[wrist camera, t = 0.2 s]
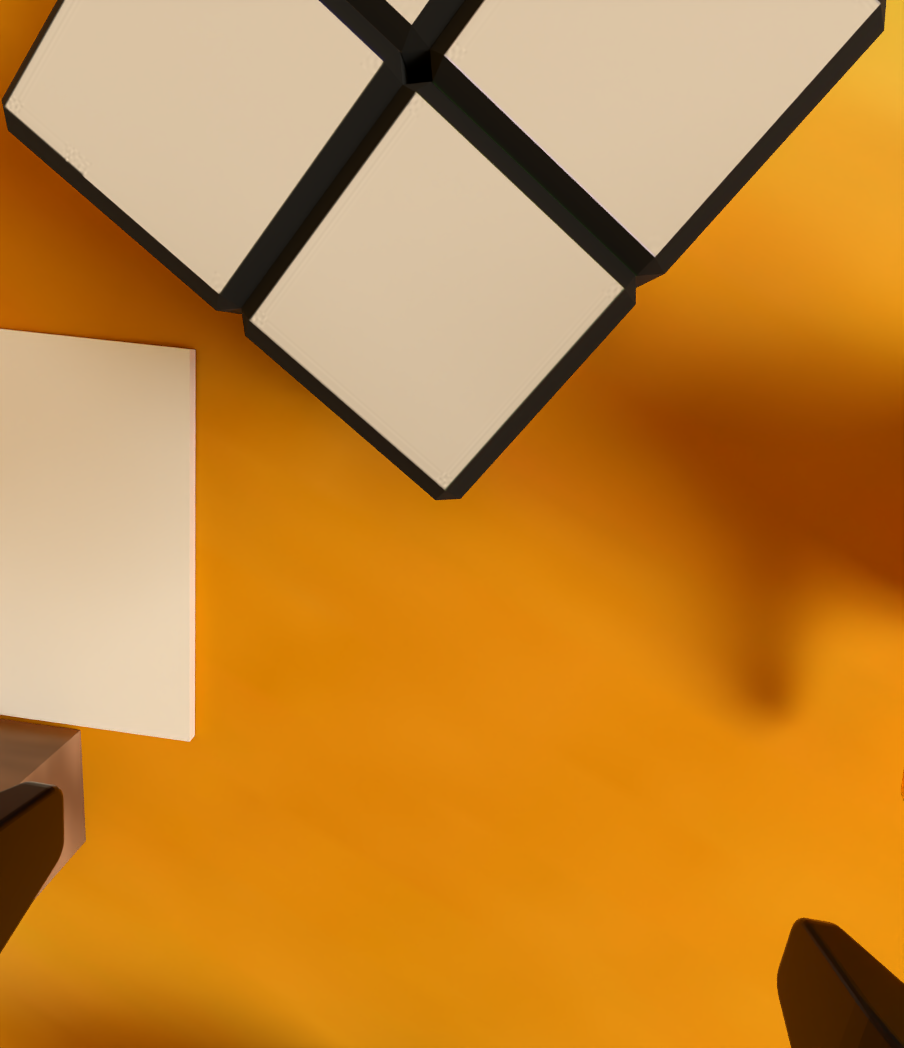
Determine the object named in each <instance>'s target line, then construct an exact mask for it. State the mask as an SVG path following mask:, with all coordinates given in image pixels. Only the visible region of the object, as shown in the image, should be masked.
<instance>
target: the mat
mask: <svg viewBox="0 0 904 1048" xmlns="http://www.w3.org/2000/svg"><path fill="white" fill-rule="evenodd" d="M195 400H196V350H194V349H185V348H176V347H167V346H157V345H148V344H139V343H130V342H120V341H111V340H102V339H92V338H83V337H74V336H65V335H55V334H46V333H37V332H28V331H18V330H9V329H0V715H7V716H14V717H21V718H28V719H35V720H42V721H49V722H56V723H63V724H70V725H77V726H84V727H91V728H98V729H105V730H112V731H119V732H126V733H133V734H140V735H147V736H154V737H161V738H168V739H175V740H182V741H189V742H190V741H191V739H192V738H193V737H194V736H195Z"/></svg>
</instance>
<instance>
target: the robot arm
mask: <svg viewBox="0 0 904 1048" xmlns="http://www.w3.org/2000/svg"><path fill="white" fill-rule="evenodd" d="M63 846H64V797H63V792H62V790H61V789H60V788H59V787H57V786H55V785H50V784H45V783H39V782H33V781H28V782H23V783H20V784H18V785H15V786H13V787H11V788H8V789H6V790H3V791H1V792H0V953H1V951H2V950H3V948H4V947H5V945H6V943H7V942H8V940H9V939H10V937H11V936H12V934H13V932H14V931H15V929H16V928H17V926H18V924H19V923H20V921H21V920H22V918H23V916H24V915H25V913H26V912H27V910H28V909H29V907H30V905H31V904H32V902H33V901H34V899H35V897H36V896H37V894H38V893H39V891H40V889H41V888H42V886H43V885H44V883H45V882H46V880H47V878H48V877H49V875H50V874H51V872H52V870H53V869H54V867H55V866H56V864H57V862H58V860H59V858H60V856H61V853H62V850H63ZM777 989H778V995H779V1000H780V1004H781V1008H782V1012H783V1016H784V1020H785V1024H786V1028H787V1032H788V1036H789V1041H790V1045H791V1048H904V983H903V982H902V981H900V980H899V979H898V978H897V977H896V976H895V975H894V974H892V973H891V972H890V971H889V970H888V969H887V968H886V967H884V966H883V965H882V964H881V963H880V962H879V961H878V960H877V959H875V958H874V957H873V956H872V955H871V954H870V953H869V952H867V951H866V950H865V949H864V948H863V947H862V946H861V945H859V944H858V943H857V942H856V941H855V940H854V939H853V938H852V937H850V936H849V935H848V934H847V933H846V932H845V931H844V930H842V929H841V928H840V927H839V926H837V925H835V924H833V923H830V922H826V921H820V920H814V919H809V918H800V919H798V920H796V921H795V923H794V924H793V926H792V929H791V932H790V935H789V938H788V941H787V944H786V947H785V950H784V953H783V956H782V959H781V963H780V966H779V969H778V974H777Z"/></svg>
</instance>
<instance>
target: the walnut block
mask: <svg viewBox="0 0 904 1048" xmlns="http://www.w3.org/2000/svg"><path fill="white" fill-rule="evenodd" d="M28 781H33V782H39V783H45V784H50V785H55V786H57V787H59V788H60V789H61V790H62V792H63V797H64V846H63V850H62V853H61V856H60V858H59V860H58V862H57V864H56V866H55V867H54V869H53V870H52V872H51V874H50V875H49V877H48V878H47V880H46V882H45V883H44V885H43V886H42V888H41V889H40V891H39V893H38V894H37V896H38V895H39V894H40V893H41V891H42V890H43V889H44V888H45V887H46V886H47V884H48V883H49V882H50V881H51V880H52V879H53V878H54V876H55V875H56V874H57V873H58V872H59V871H60V870H61V868H62V867H63V866H64V865H65V864H66V863H67V862H68V860H69V859H70V858H71V857H72V856H73V855H74V853H75V852H76V851H77V850H78V849H79V848H80V847H81V845H82V844H83V843H84V842H85V841H86V837H85V816H84V795H83V774H82V754H81V733H80V730H76V729H69V728H62V727H55V726H48V725H41V724H34V723H27V722H20V721H13V720H6V719H0V792H1V791H3V790H6V789H8V788H11V787H13V786H15V785H18V784H20V783H23V782H28ZM37 896H36V897H37ZM36 897H35V898H36Z"/></svg>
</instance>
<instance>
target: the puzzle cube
mask: <svg viewBox="0 0 904 1048" xmlns="http://www.w3.org/2000/svg"><path fill="white" fill-rule="evenodd" d="M885 9H886V0H57V2H56V4H55V6H54V7H53V9H52V11H51V13H50V14H49V16H48V18H47V20H46V22H45V23H44V25H43V27H42V29H41V31H40V32H39V34H38V36H37V38H36V39H35V41H34V43H33V45H32V47H31V48H30V50H29V52H28V54H27V56H26V57H25V59H24V61H23V63H22V64H21V66H20V68H19V70H18V72H17V73H16V75H15V77H14V79H13V81H12V82H11V84H10V86H9V88H8V89H7V91H6V93H5V95H4V97H3V98H2V104H3V109H4V113H5V118H6V123H7V128H8V131H9V132H11V133H12V134H13V135H14V136H15V137H16V138H17V139H19V140H20V141H21V142H22V143H23V144H24V145H26V146H27V147H28V148H29V149H30V150H31V151H33V152H34V153H35V154H36V155H37V156H38V157H39V158H41V159H42V160H43V161H44V162H45V163H46V164H48V165H49V166H50V167H51V168H52V169H53V170H54V171H56V172H57V173H58V174H59V175H60V176H61V177H63V178H64V179H65V180H66V181H67V182H68V183H70V184H71V185H72V186H73V187H74V188H75V189H76V190H78V191H79V192H80V193H81V194H82V195H83V196H85V197H86V198H87V199H88V200H89V201H90V202H91V203H93V204H94V205H95V206H96V207H97V208H98V209H100V210H101V211H102V212H103V213H104V214H105V215H107V216H108V217H109V218H110V219H111V220H112V221H113V222H115V223H116V224H117V225H118V226H119V227H120V228H122V229H123V230H124V231H125V232H126V233H127V234H128V235H130V236H131V237H132V238H133V239H134V240H135V241H137V242H138V243H139V244H140V245H141V246H142V247H144V248H145V249H146V250H147V251H148V252H149V253H150V254H152V255H153V256H154V257H155V258H156V259H157V260H159V261H160V262H161V263H162V264H163V265H164V266H165V267H167V268H168V269H169V270H170V271H171V272H172V273H174V274H175V275H176V276H177V277H178V278H179V279H181V280H182V281H183V282H184V283H185V284H186V285H187V286H189V287H190V288H191V289H192V290H193V291H194V292H196V293H197V294H198V295H199V296H200V297H201V298H202V299H204V300H205V301H206V302H207V303H208V304H209V305H211V306H212V307H213V308H214V309H215V310H217V311H224V312H231V313H238V314H242V317H243V324H244V331H245V336H246V337H248V338H249V339H250V340H251V341H252V342H253V343H255V344H256V345H257V346H258V347H259V348H260V349H261V350H263V351H264V352H265V353H266V354H267V355H268V356H270V357H271V358H272V359H273V360H274V361H275V362H277V363H278V364H279V365H280V366H281V367H282V368H283V369H285V370H286V371H287V372H288V373H289V374H290V375H292V376H293V377H294V378H295V379H296V380H297V381H298V382H300V383H301V384H302V385H303V386H304V387H305V388H307V389H308V390H309V391H310V392H311V393H312V394H314V395H315V396H316V397H317V398H318V399H319V400H320V401H322V402H323V403H324V404H325V405H326V406H327V407H329V408H330V409H331V410H332V411H333V412H334V413H335V414H337V415H338V416H339V417H340V418H341V419H342V420H344V421H345V422H346V423H347V424H348V425H349V426H351V427H352V428H353V429H354V430H355V431H356V432H357V433H359V434H360V435H361V436H362V437H363V438H364V439H366V440H367V441H368V442H369V443H370V444H371V445H372V446H374V447H375V448H376V449H377V450H378V451H379V452H381V453H382V454H383V455H384V456H385V457H386V458H388V459H389V460H390V461H391V462H392V463H393V464H394V465H396V466H397V467H398V468H399V469H400V470H401V471H403V472H404V473H405V474H406V475H407V476H408V477H409V478H411V479H412V480H413V481H414V482H415V483H416V484H418V485H419V486H420V487H421V488H422V489H423V490H425V491H426V492H427V493H428V494H429V495H430V496H431V497H433V498H434V499H435V500H447V499H461V498H462V497H463V495H464V494H465V493H466V492H467V491H468V490H469V489H470V488H471V487H472V485H473V484H474V483H475V482H476V481H477V480H478V479H479V478H480V477H481V475H482V474H483V473H484V472H485V471H486V470H487V469H488V468H489V467H490V465H491V464H492V463H493V462H494V461H495V460H496V459H497V458H498V457H499V455H500V454H501V453H502V452H503V451H504V450H505V449H506V448H507V447H508V445H509V444H510V443H511V442H512V441H513V440H514V439H515V438H516V437H517V435H518V434H519V433H520V432H521V431H522V430H523V429H524V428H525V427H526V425H527V424H528V423H529V422H530V421H531V420H532V419H533V418H534V417H535V415H536V414H537V413H538V412H539V411H540V410H541V409H542V408H543V407H544V406H545V404H546V403H547V402H548V401H549V400H550V399H551V398H552V397H553V396H554V394H555V393H556V392H557V391H558V390H559V389H560V388H561V387H562V386H563V384H564V383H565V382H566V381H567V380H568V379H569V378H570V377H571V376H572V374H573V373H574V372H575V371H576V370H577V369H578V368H579V367H580V366H581V364H582V363H583V362H584V361H585V360H586V359H587V358H588V357H589V356H590V354H591V353H592V352H593V351H594V350H595V349H596V348H597V347H598V346H599V344H600V343H601V342H602V341H603V340H604V339H605V338H606V337H607V336H608V334H609V333H610V332H611V331H612V330H613V329H614V328H615V327H616V326H617V324H618V323H619V322H620V321H621V320H622V319H623V318H624V317H625V316H626V314H627V313H628V312H629V311H630V310H631V309H632V308H633V307H634V306H635V304H636V288H637V287H639V286H641V285H643V284H645V283H647V282H649V281H651V280H653V279H655V278H657V277H659V276H661V275H663V274H665V273H666V272H667V271H668V269H669V268H670V267H671V266H672V265H673V264H674V263H675V262H676V261H677V259H678V258H679V257H680V256H681V255H682V254H683V253H684V252H685V251H686V249H687V248H688V247H689V246H690V245H691V244H692V243H693V242H694V241H695V240H696V238H697V237H698V236H699V235H700V234H701V233H702V232H703V231H704V230H705V228H706V227H707V226H708V225H709V224H710V223H711V222H712V221H713V220H714V218H715V217H716V216H717V215H718V214H719V213H720V212H721V211H722V210H723V208H724V207H725V206H726V205H727V204H728V203H729V202H730V201H731V200H732V198H733V197H734V196H735V195H736V194H737V193H738V192H739V191H740V190H741V188H742V187H743V186H744V185H745V184H746V183H747V182H748V181H749V180H750V178H751V177H752V176H753V175H754V174H755V173H756V172H757V171H758V170H759V169H760V167H761V166H762V165H763V164H764V163H765V162H766V161H767V160H768V159H769V157H770V156H771V155H772V154H773V153H774V152H775V151H776V150H777V149H778V147H779V146H780V145H781V144H782V143H783V142H784V141H785V140H786V139H787V137H788V136H789V135H790V134H791V133H792V132H793V131H794V130H795V129H796V127H797V126H798V125H799V124H800V123H801V122H802V121H803V120H804V119H805V117H806V116H807V115H808V114H809V113H810V112H811V111H812V110H813V109H814V108H815V106H816V105H817V104H818V103H819V102H820V101H821V100H822V99H823V98H824V96H825V95H826V94H827V93H828V92H829V91H830V90H831V89H832V88H833V86H834V85H835V84H836V83H837V82H838V81H839V80H840V79H841V78H842V76H843V75H844V74H845V73H846V72H847V71H848V70H849V69H850V68H851V66H852V65H853V64H854V63H855V62H856V61H857V60H858V59H859V58H860V56H861V55H862V54H863V53H864V52H865V51H866V50H867V49H868V48H869V46H870V45H871V44H872V43H873V42H874V41H875V40H876V39H877V38H878V37H879V35H880V34H881V33H882V32H883V31H884V22H885Z"/></svg>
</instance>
